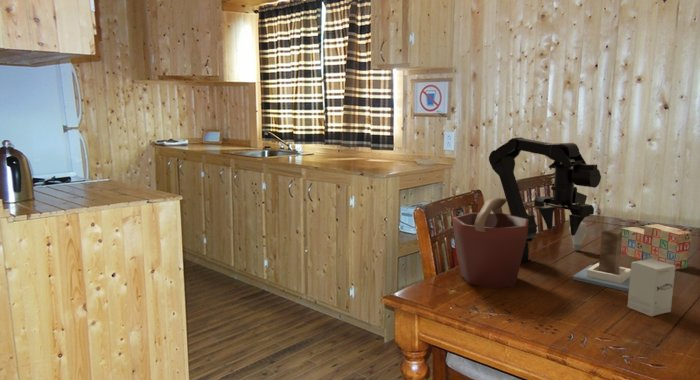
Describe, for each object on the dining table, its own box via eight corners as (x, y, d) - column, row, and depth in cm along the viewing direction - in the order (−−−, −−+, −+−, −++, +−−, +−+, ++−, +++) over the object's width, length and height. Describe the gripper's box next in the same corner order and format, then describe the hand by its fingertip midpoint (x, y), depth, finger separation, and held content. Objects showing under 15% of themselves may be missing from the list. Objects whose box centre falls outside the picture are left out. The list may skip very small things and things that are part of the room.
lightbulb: (568, 252, 188) (570, 222, 186) (567, 247, 194) (569, 219, 192) (586, 253, 186) (588, 223, 184) (585, 249, 191) (587, 220, 190)
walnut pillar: (598, 275, 159) (601, 231, 157) (603, 272, 162) (606, 228, 160) (614, 279, 156) (617, 233, 154) (618, 275, 159) (622, 231, 157)
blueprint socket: (572, 279, 159) (572, 270, 158) (590, 267, 170) (591, 258, 170) (629, 292, 148) (630, 281, 148) (644, 278, 159) (645, 268, 159)
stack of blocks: (619, 253, 187) (621, 219, 185) (632, 251, 189) (635, 218, 187) (674, 270, 167) (677, 233, 165) (688, 268, 169) (691, 231, 167)
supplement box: (652, 317, 131) (656, 269, 128) (626, 307, 137) (630, 261, 135) (672, 312, 133) (676, 265, 131) (645, 302, 140) (649, 257, 138)
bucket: (481, 262, 176) (483, 190, 172) (544, 277, 161) (548, 198, 157) (438, 280, 159) (440, 200, 155) (503, 298, 144) (507, 210, 140)
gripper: (608, 185, 157) (604, 235, 159) (558, 178, 173) (556, 223, 176) (582, 188, 152) (578, 240, 155) (534, 180, 168) (531, 227, 171)
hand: (561, 232), depth 164 cm, fingers open, 9 cm apart
